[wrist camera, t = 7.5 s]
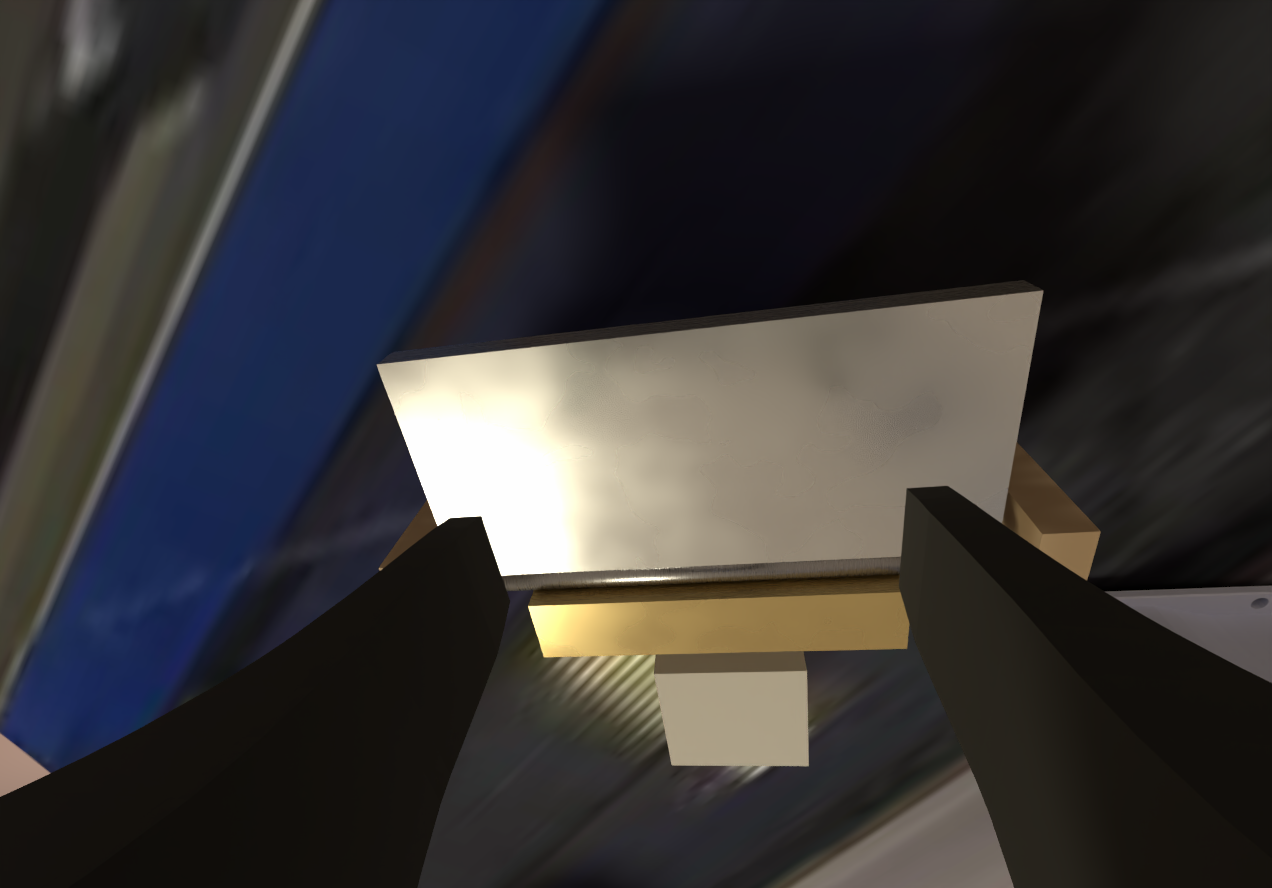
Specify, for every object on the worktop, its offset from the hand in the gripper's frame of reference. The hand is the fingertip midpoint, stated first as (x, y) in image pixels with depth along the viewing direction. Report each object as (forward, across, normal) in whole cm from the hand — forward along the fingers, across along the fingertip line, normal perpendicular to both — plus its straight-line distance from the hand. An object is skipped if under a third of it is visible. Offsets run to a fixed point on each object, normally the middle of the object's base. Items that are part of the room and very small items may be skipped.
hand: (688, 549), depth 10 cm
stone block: (+10, 0, +12) cm, 16 cm away
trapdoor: (+5, 0, +2) cm, 6 cm away
